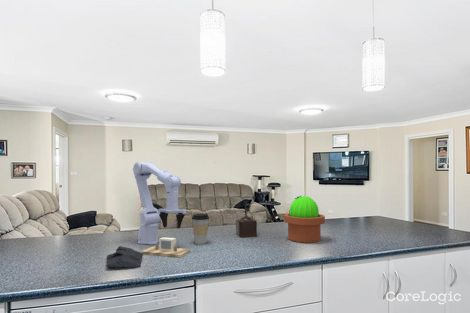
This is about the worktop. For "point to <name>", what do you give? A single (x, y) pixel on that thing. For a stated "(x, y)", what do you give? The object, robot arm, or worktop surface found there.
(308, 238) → the potted cactus
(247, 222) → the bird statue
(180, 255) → the ledge
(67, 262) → the worktop surface
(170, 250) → the white rectangular block
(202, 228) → the coffee cup
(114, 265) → the dark slate chunk
